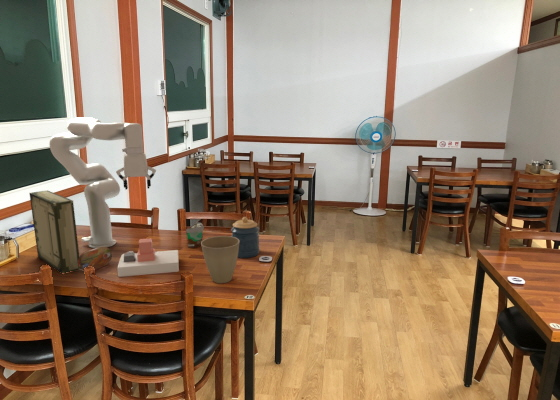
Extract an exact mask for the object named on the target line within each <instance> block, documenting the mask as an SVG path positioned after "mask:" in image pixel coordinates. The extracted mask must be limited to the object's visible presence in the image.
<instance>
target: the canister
mask: <svg viewBox="0 0 560 400" xmlns="http://www.w3.org/2000/svg"><path fill="white" fill-rule="evenodd" d="M230 231H231V237H235V238H237V239H239V251H238V257H237V258H241V259H242V258H243V259H248V258H254V257H256V256H258V255H260V249H261V248H260V234H259V231H260V227H258V223H257V222H256V221H254V220H252V219H248V217H247V216H242V218H241V219H239V220H236V221H235V222H234V223H232V228H230Z"/></svg>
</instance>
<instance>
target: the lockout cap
mask: <svg viewBox="0 0 560 400" xmlns="http://www.w3.org/2000/svg"><path fill="white" fill-rule="evenodd" d="M155 252H156V248H154V247H153V239H152V238H139V240H138V250H137V253H138V254H137V259H138V262H143V261H155Z"/></svg>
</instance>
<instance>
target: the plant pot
mask: <svg viewBox="0 0 560 400" xmlns="http://www.w3.org/2000/svg"><path fill="white" fill-rule="evenodd" d="M231 236H232V235H231ZM231 236H230V235H229V236H228V235H216V236H211V237H207V238H204V239H202V242H201V246H200V247H201V250H202V254H203V258H204V262H205V264H206V268H207V271H208V272H209V275H210V277H211V279H212V282H213V283H216V284H226V283H229V282H230V281H232V279H233V275H234V272H235V269H236V266H237V261H238V258H239V257H238V251H239V239H237V238H235V237H231Z"/></svg>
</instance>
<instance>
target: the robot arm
mask: <svg viewBox="0 0 560 400" xmlns="http://www.w3.org/2000/svg"><path fill="white" fill-rule="evenodd" d="M66 129H67V131H68V132H61V133H57V134H55V135H53V136H51V138H50V140H49V149H50V152H51V154H52V155H53V157H54V158H55V159H56V161H58V163H60V164H61V165H62V166H63V167H64V168H65V169H66V170H67V172H68V173H69V175H70V176H71V177H72V178H73V179H74V180H75V181H76V183H77V184H79V185H82V186H85V187H84V190H83V194H84V198H85V201H86V204H87V209H88V218H89V219H88V220H89V229H90V236H87V237H82V238H81V242H83V243H88V247H89V248H91V249H95V248H98V247H108V248H109V247H112V246H114V245H116V243H117V240H116V239H113V233H112V224H111V223H112V222H111V213H110V208H109V207H110V206H109V205H108V203H107V202H106V200H108V199H112V198H115V197H118V195H119V194H120V192H121V187H120V184H119V183H118V181H117V180H116V179H115V177H114V176H113V175H112V174H111V173H110V171H109V170H108V169H107V168H106V167H105V166H104V165H102V164H101V163H95V162H94V163H86V162H85V161H84V160H83V159H82V158H81V157H80V156H79V155H78V154H77V153H74V152H73V151H75V150H81V149H84V148H86V147H87V146H88V145H89V143H90V142H91V141H92V140H93V139H95V140H100V141H117V140H119V141H120V140H124V145H125V146H124V147H125V148H122V150H121V151H122V153H124V155H123V167H121V168H120V169H117V170H116V171H115V173H116V175H117V176H118V178H120V180H122V181H123V183H122V184H123V188H125V189H124V190H125V191H126V190H128V180H127V179H128V178H133V177H135V178H137V177H138V178H139V177H146V179H147V180H146V187H147V188H146V189H150V187H151V186H152V184H151V183H152V182H151V179H153V177H154V175H156V172H157V169H156V168H153V167H151V166H149V165H148V160H147V156H146V153H145V151H144V141H143V139H144V138H143V128H142V125H141V123H137V122H131V123H130V122H123V121H121V122H111V123H110V122H108V123H107V122H102V121H101V120H99V119H97V118H96V119H95V118H93V117H89V116H88V117H86V116H85V117H75V118H74V117H73V118H71V119H69V120H68V121H67V125H66ZM149 171H151V174H150V175H149V174H148V173H149ZM122 172H123V173H124V175H122V174H121V173H122Z"/></svg>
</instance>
